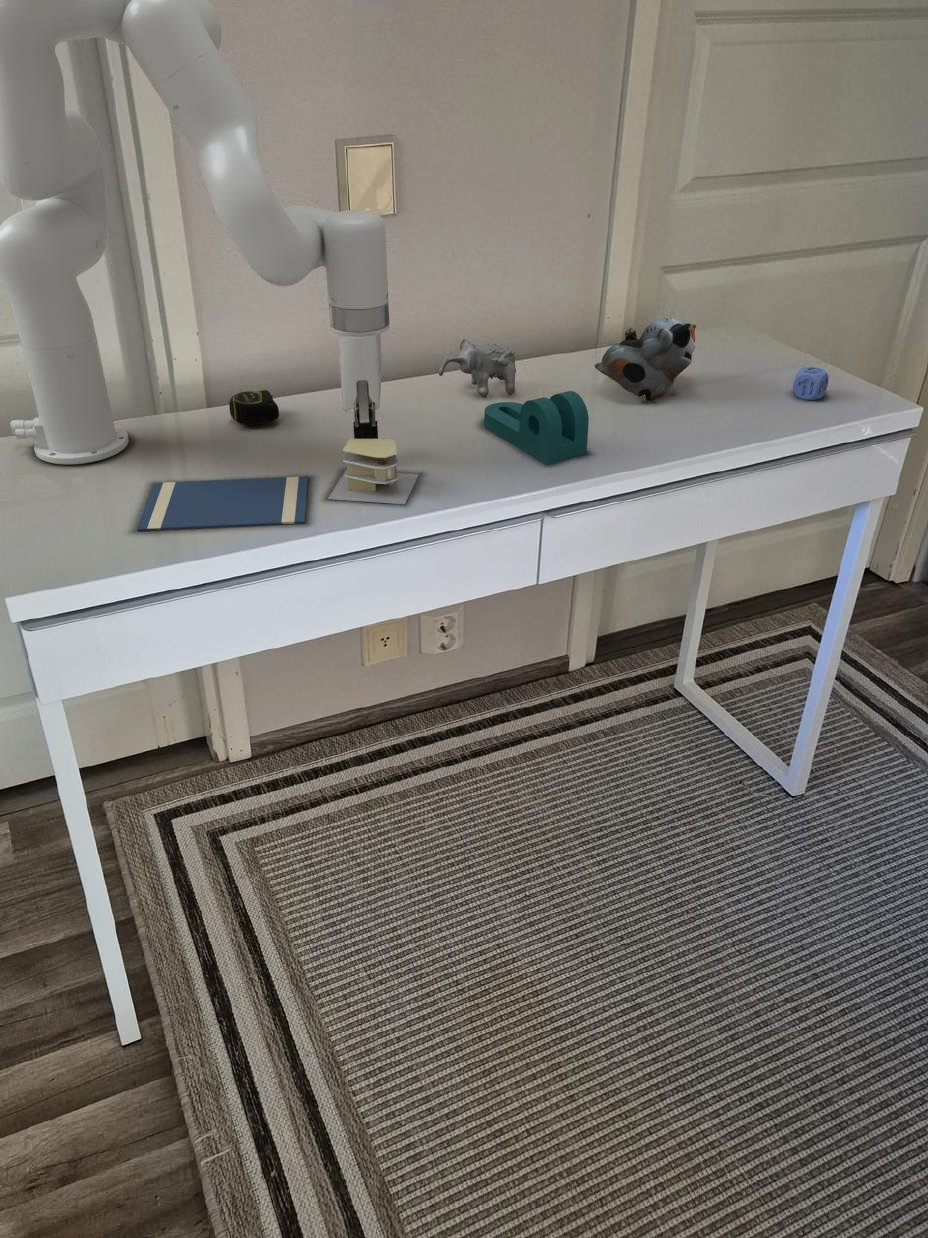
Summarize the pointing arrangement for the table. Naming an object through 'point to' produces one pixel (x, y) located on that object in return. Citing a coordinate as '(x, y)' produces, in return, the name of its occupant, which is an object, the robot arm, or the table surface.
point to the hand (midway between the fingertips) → (366, 450)
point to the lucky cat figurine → (650, 358)
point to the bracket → (543, 426)
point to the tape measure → (253, 407)
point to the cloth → (225, 503)
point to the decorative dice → (810, 383)
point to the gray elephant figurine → (485, 365)
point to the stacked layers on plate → (373, 473)
